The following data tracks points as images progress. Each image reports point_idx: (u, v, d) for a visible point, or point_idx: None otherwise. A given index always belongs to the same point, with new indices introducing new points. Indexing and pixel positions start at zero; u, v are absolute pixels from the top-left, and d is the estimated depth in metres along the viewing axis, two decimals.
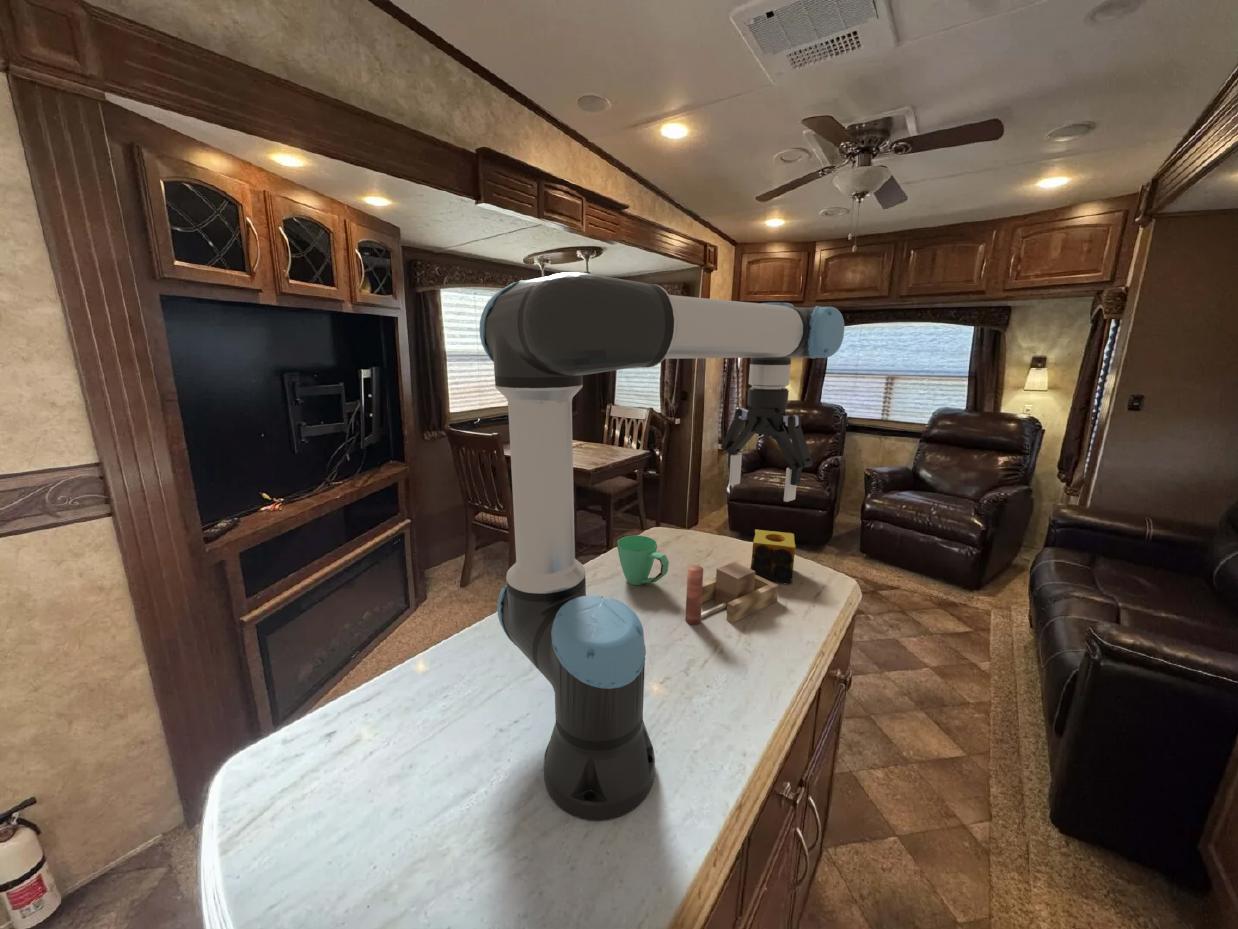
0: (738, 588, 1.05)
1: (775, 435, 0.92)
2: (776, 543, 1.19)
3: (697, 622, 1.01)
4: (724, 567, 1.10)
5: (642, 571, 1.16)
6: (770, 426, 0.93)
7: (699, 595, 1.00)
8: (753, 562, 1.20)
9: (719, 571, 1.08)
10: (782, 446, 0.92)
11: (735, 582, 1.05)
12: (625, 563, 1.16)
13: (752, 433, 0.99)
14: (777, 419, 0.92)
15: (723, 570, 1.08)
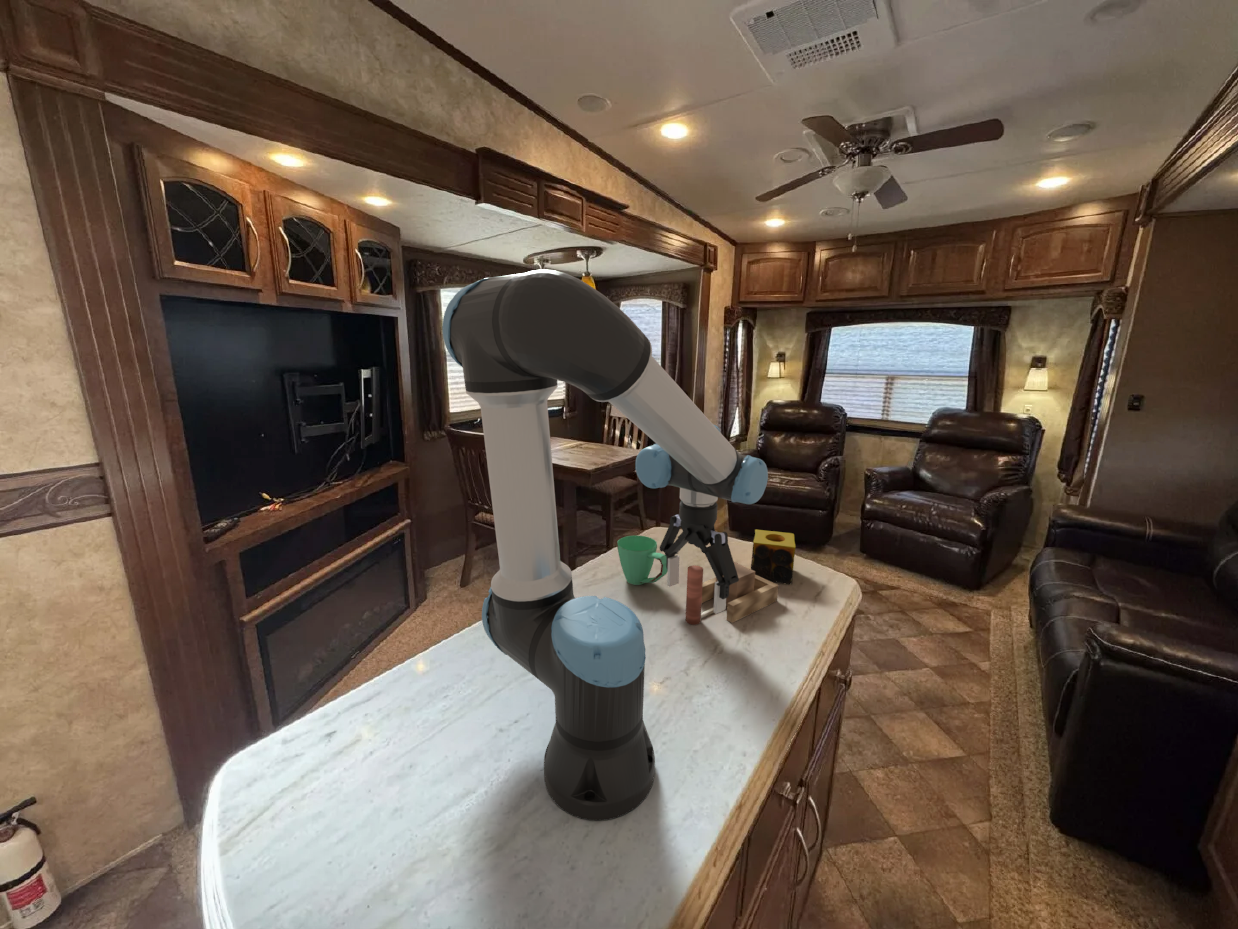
0: (738, 588, 1.05)
1: (704, 550, 0.95)
2: (776, 543, 1.19)
3: (697, 622, 1.01)
4: None
5: (642, 571, 1.16)
6: (699, 540, 0.95)
7: (699, 595, 1.00)
8: (753, 562, 1.20)
9: None
10: (711, 561, 0.95)
11: None
12: (625, 563, 1.16)
13: (686, 540, 1.02)
14: (706, 535, 0.95)
15: None
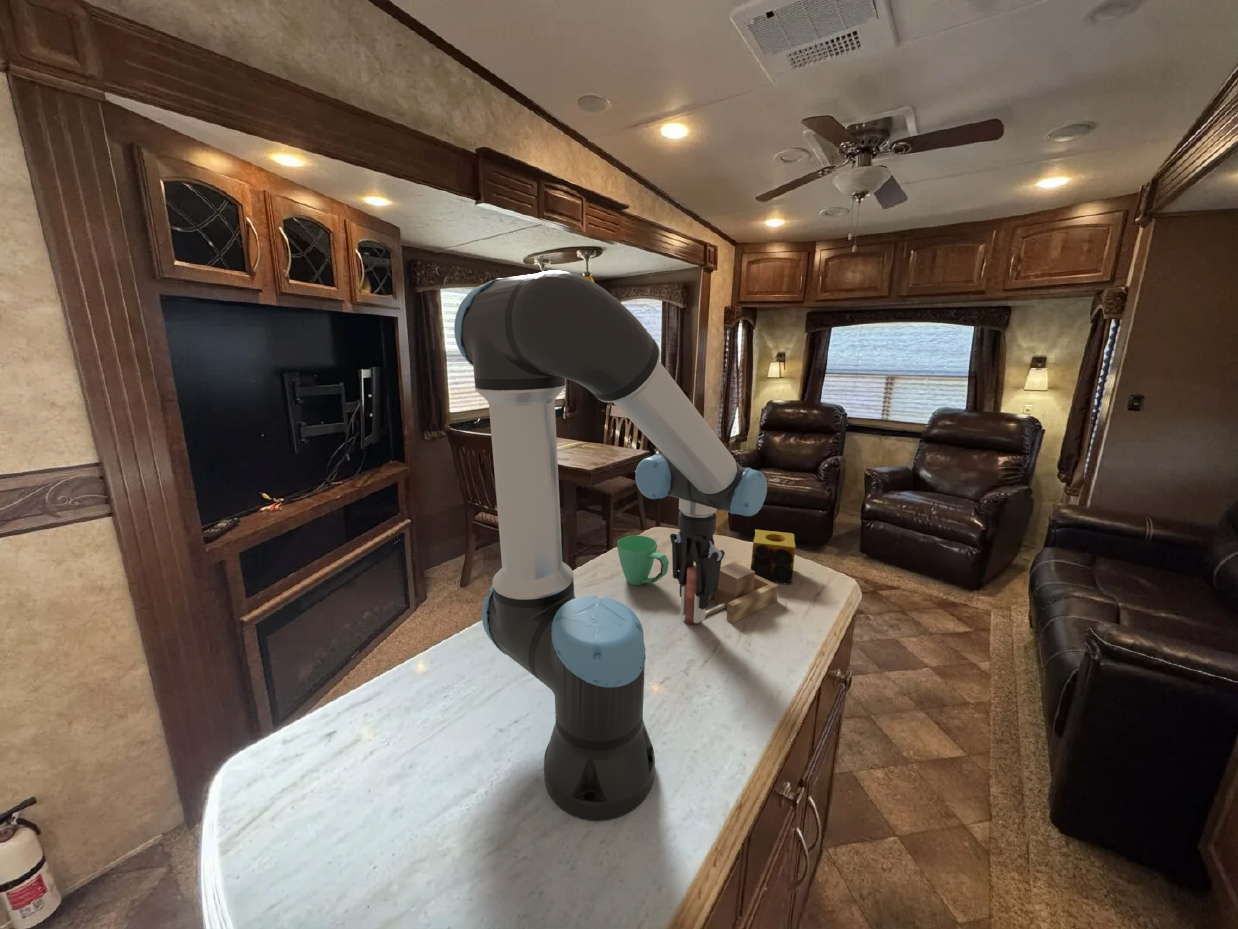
0: (738, 588, 1.05)
1: (697, 562, 0.97)
2: (776, 543, 1.19)
3: None
4: (724, 567, 1.10)
5: (642, 571, 1.16)
6: (696, 552, 0.96)
7: None
8: (753, 562, 1.20)
9: None
10: (698, 572, 0.97)
11: (735, 582, 1.05)
12: (625, 563, 1.16)
13: (691, 556, 1.00)
14: (704, 546, 0.95)
15: (723, 570, 1.08)
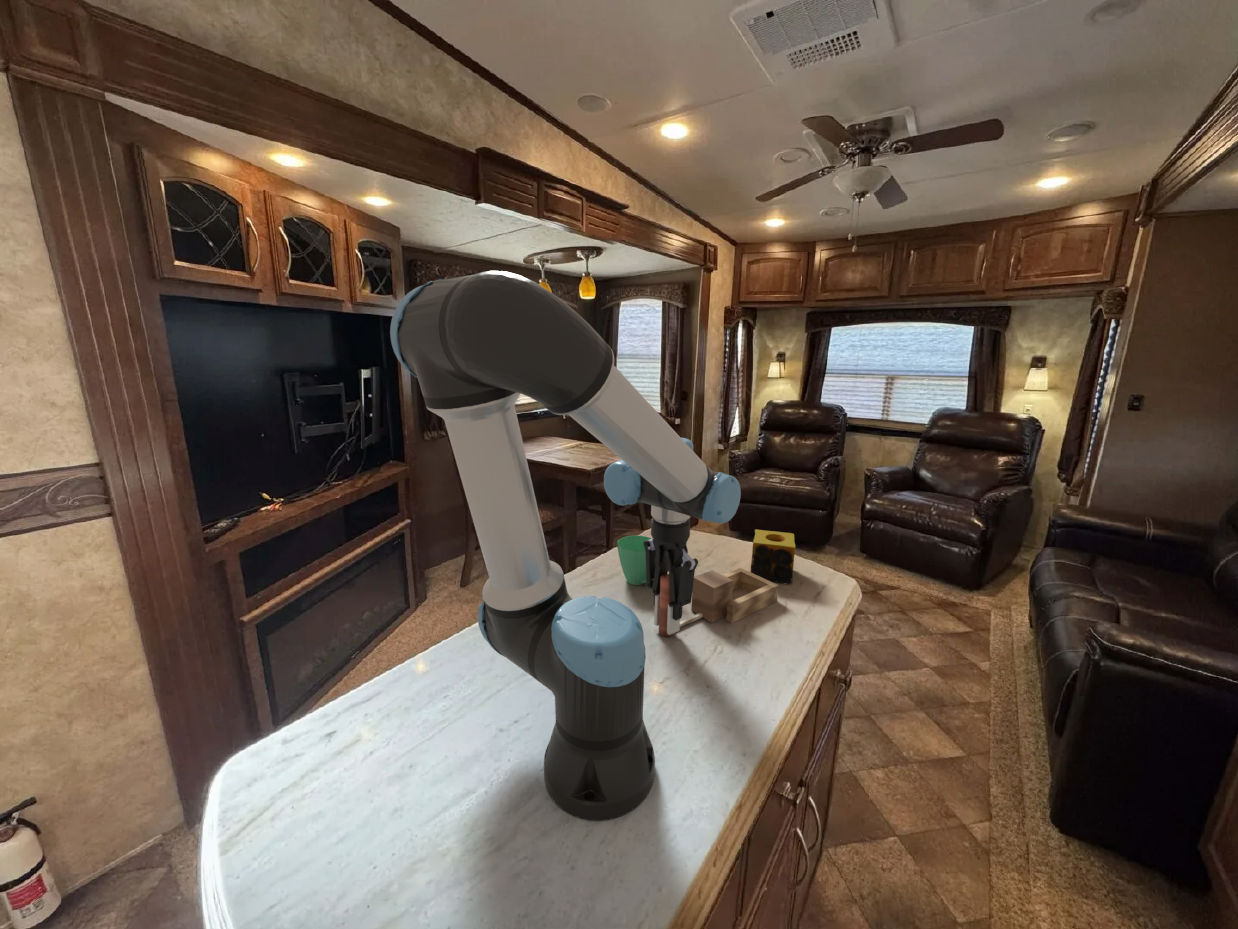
0: (714, 598, 1.01)
1: (669, 570, 0.92)
2: (776, 543, 1.19)
3: None
4: (701, 575, 1.05)
5: (642, 571, 1.16)
6: (669, 560, 0.92)
7: None
8: (753, 562, 1.20)
9: (695, 580, 1.04)
10: (671, 582, 0.93)
11: (711, 591, 1.00)
12: (625, 563, 1.16)
13: (665, 564, 0.96)
14: (677, 554, 0.91)
15: (700, 579, 1.04)
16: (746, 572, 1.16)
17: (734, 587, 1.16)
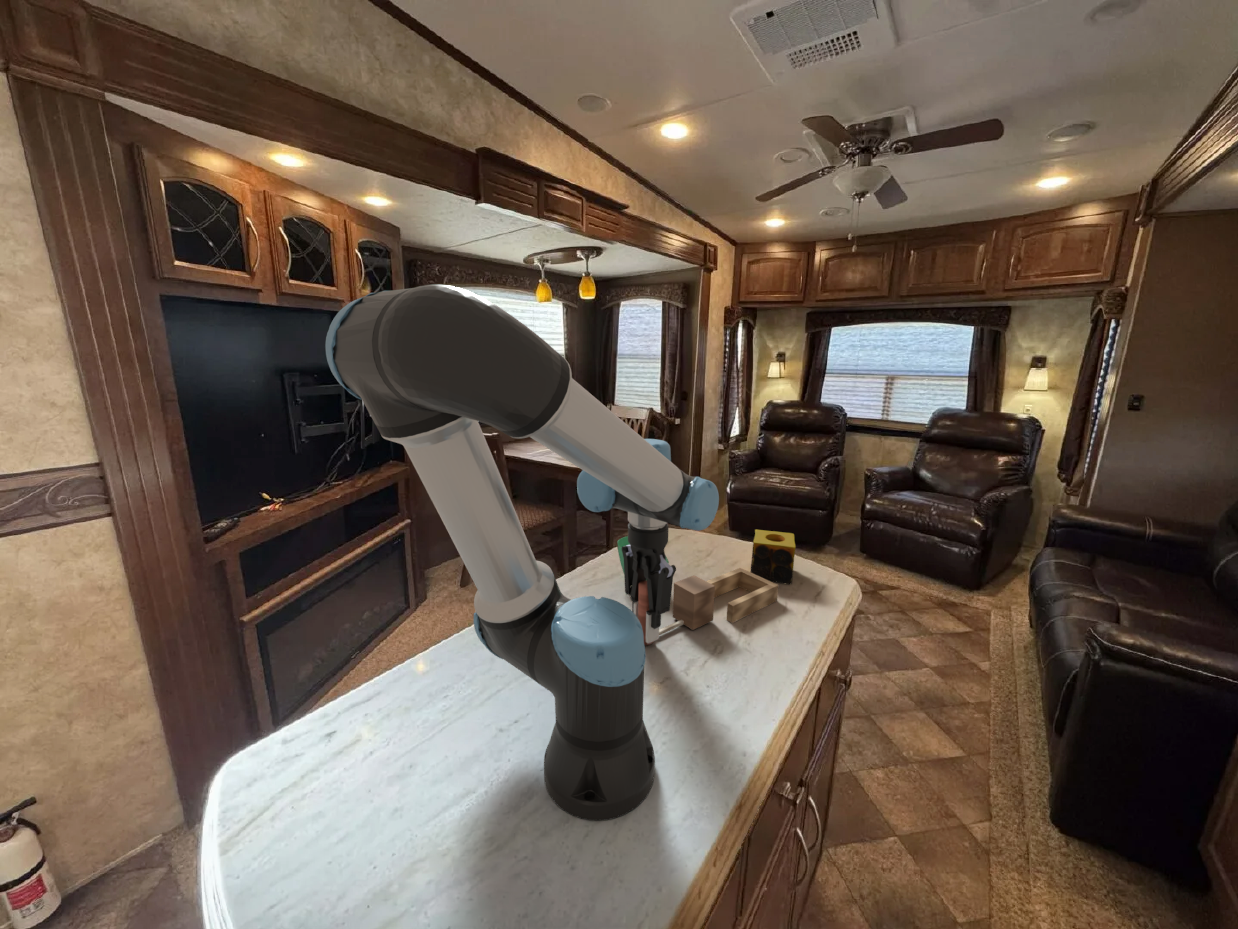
0: (695, 604, 0.98)
1: (647, 577, 0.89)
2: (776, 543, 1.19)
3: None
4: (682, 581, 1.02)
5: None
6: (646, 567, 0.89)
7: None
8: (753, 562, 1.20)
9: (676, 586, 1.01)
10: (649, 589, 0.90)
11: (692, 597, 0.97)
12: None
13: (643, 570, 0.93)
14: (654, 560, 0.88)
15: (681, 585, 1.01)
16: (746, 572, 1.16)
17: (734, 587, 1.16)
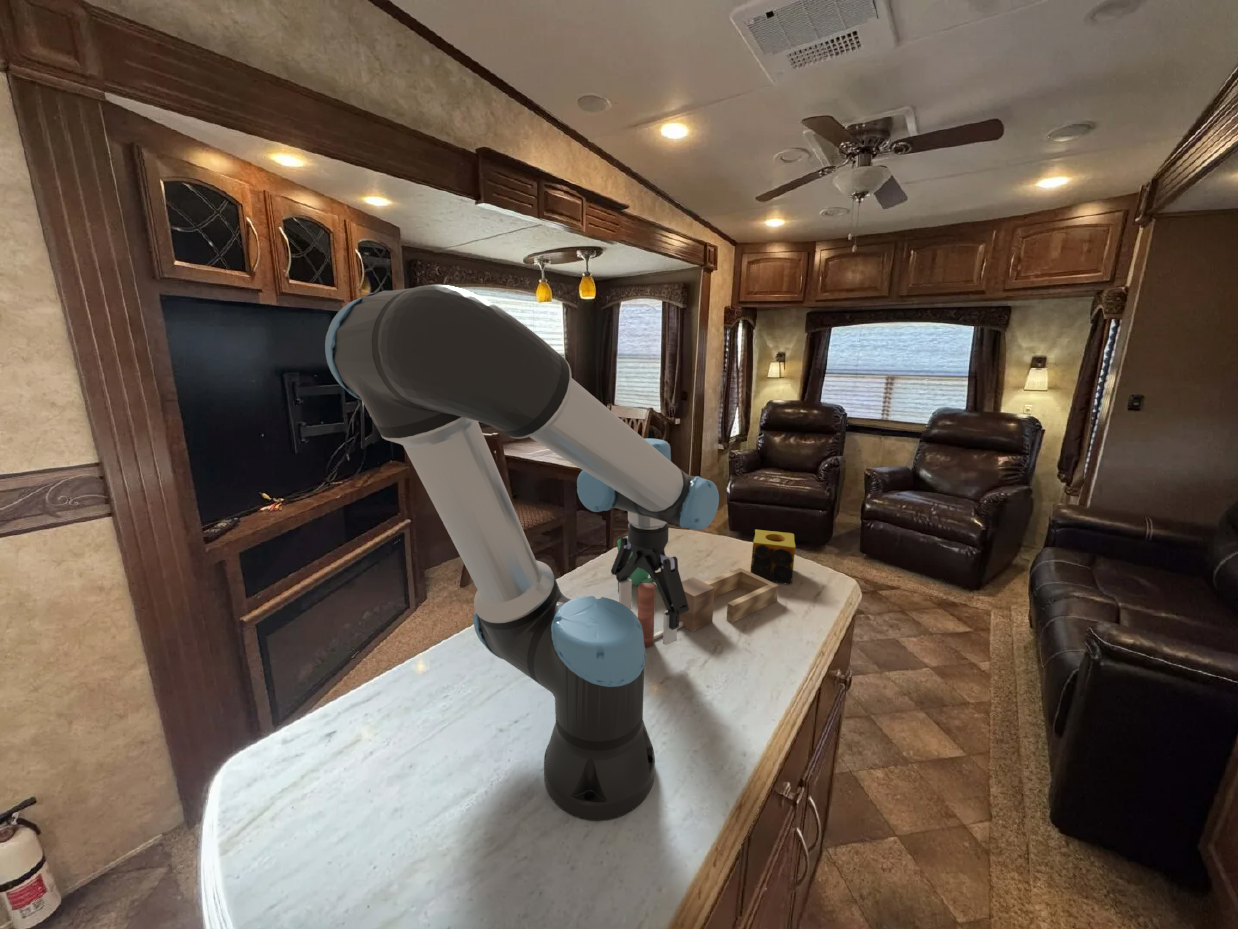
0: (695, 606, 0.98)
1: (653, 576, 0.88)
2: (776, 543, 1.19)
3: (649, 644, 0.94)
4: None
5: (642, 571, 1.16)
6: (648, 565, 0.88)
7: (651, 615, 0.92)
8: (753, 562, 1.20)
9: None
10: (660, 588, 0.87)
11: (692, 599, 0.97)
12: None
13: None
14: (655, 559, 0.87)
15: None
16: (746, 572, 1.16)
17: (734, 587, 1.16)
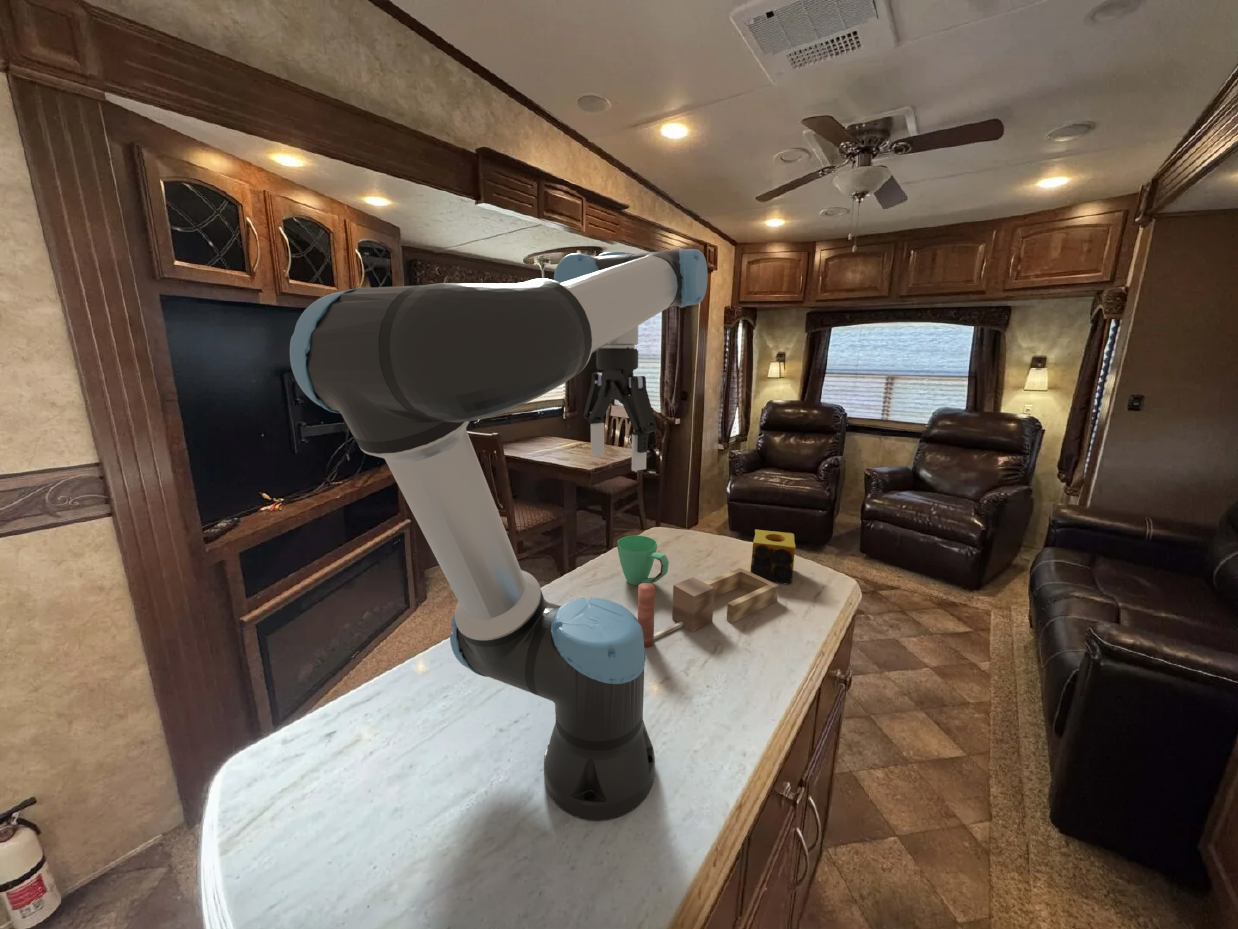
0: (695, 606, 0.98)
1: (621, 398, 0.85)
2: (776, 543, 1.19)
3: (649, 644, 0.94)
4: (681, 583, 1.02)
5: (642, 571, 1.16)
6: (617, 389, 0.85)
7: (651, 615, 0.92)
8: (753, 562, 1.20)
9: (676, 588, 1.01)
10: (628, 410, 0.85)
11: (692, 599, 0.97)
12: (625, 563, 1.16)
13: (608, 399, 0.92)
14: (623, 381, 0.85)
15: (680, 587, 1.01)
16: (746, 572, 1.16)
17: (734, 587, 1.16)
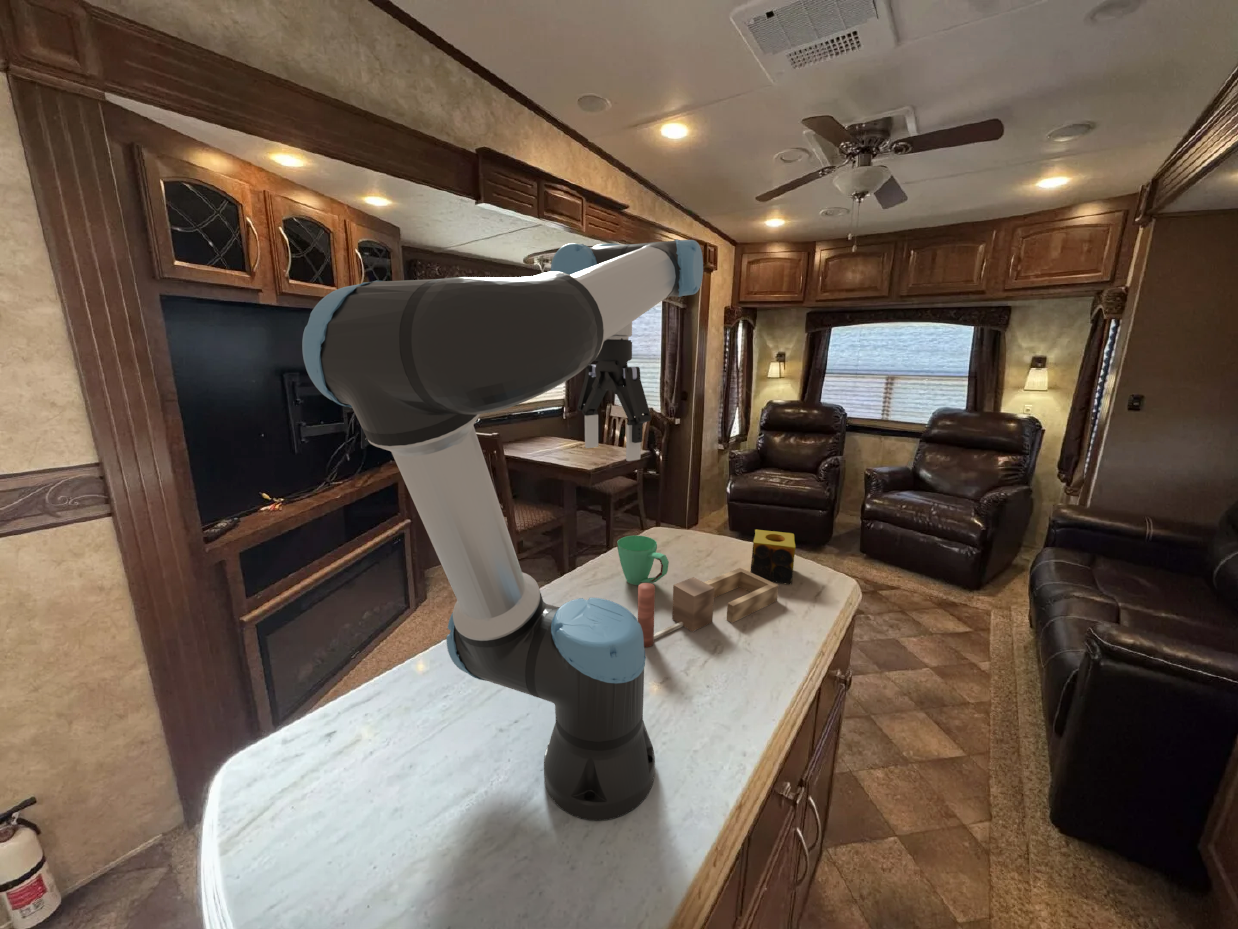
0: (695, 606, 0.98)
1: (615, 389, 0.86)
2: (776, 543, 1.19)
3: (649, 644, 0.94)
4: (681, 583, 1.02)
5: (642, 571, 1.16)
6: (611, 380, 0.86)
7: (651, 615, 0.92)
8: (753, 562, 1.20)
9: (676, 588, 1.01)
10: (622, 401, 0.85)
11: (692, 599, 0.97)
12: (625, 563, 1.16)
13: (602, 390, 0.92)
14: (617, 372, 0.86)
15: (680, 587, 1.01)
16: (746, 572, 1.16)
17: (734, 587, 1.16)
